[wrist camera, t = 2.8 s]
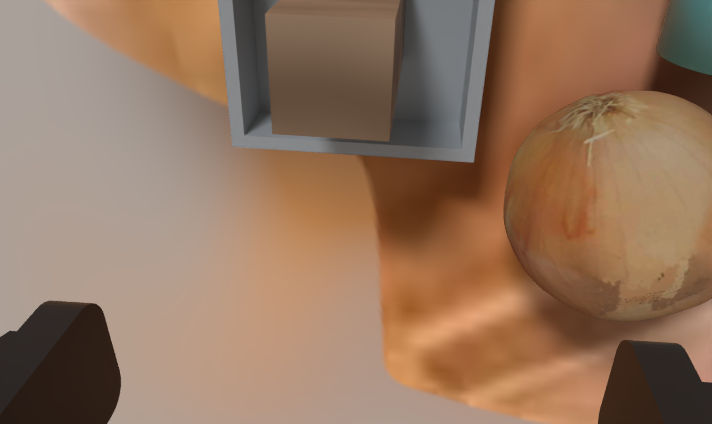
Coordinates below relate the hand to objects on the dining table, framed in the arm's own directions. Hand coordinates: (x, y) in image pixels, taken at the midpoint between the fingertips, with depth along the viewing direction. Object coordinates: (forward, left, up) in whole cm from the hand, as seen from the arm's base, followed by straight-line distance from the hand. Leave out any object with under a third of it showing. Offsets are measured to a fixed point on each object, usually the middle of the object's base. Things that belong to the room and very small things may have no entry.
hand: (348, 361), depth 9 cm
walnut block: (-1, -2, -21) cm, 21 cm away
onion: (+6, +10, -21) cm, 24 cm away
